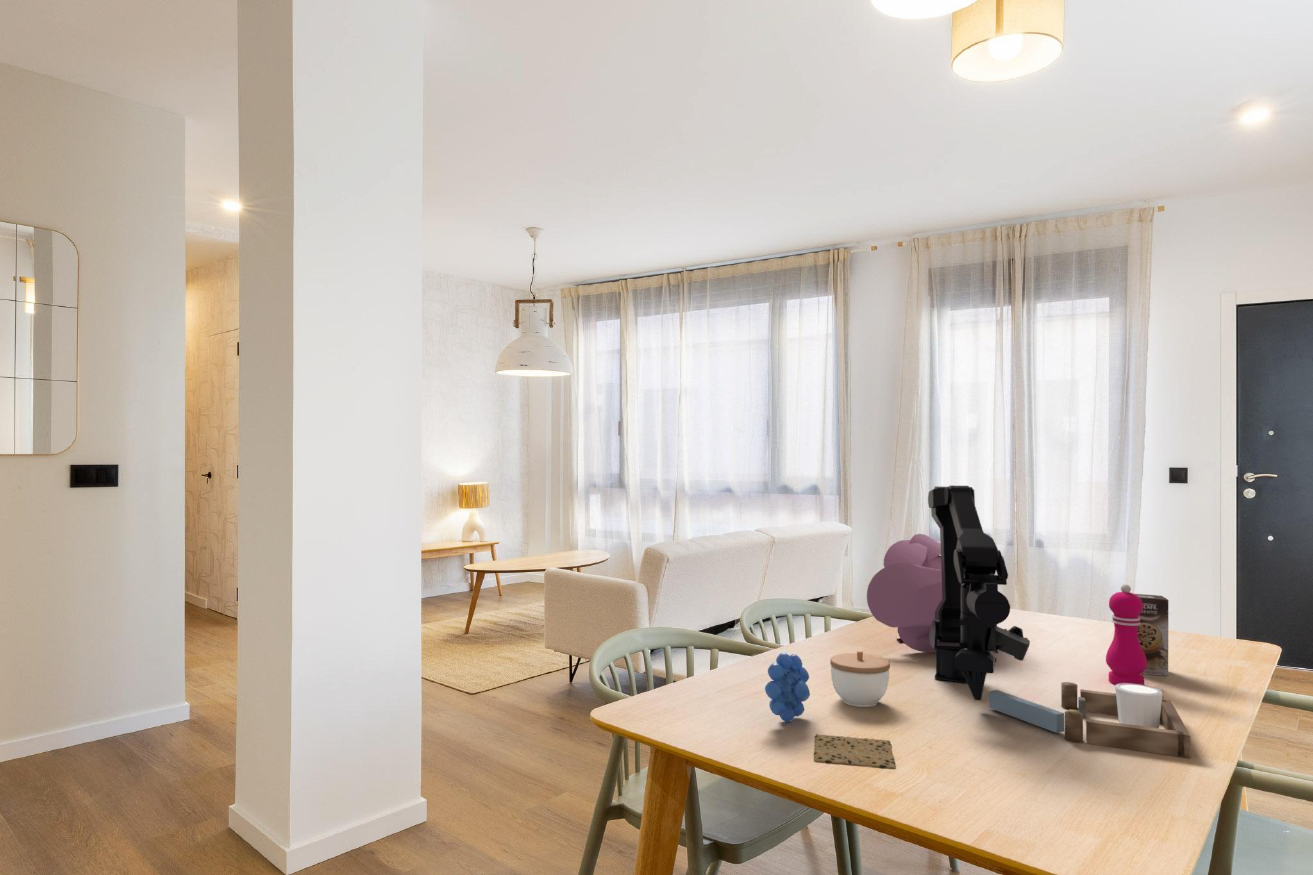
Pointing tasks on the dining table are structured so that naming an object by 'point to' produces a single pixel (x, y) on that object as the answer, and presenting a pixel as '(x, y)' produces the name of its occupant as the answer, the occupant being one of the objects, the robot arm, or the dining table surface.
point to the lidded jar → (860, 678)
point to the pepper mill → (1126, 639)
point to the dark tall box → (1154, 633)
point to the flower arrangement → (909, 590)
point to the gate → (1027, 711)
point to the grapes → (787, 686)
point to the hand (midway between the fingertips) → (977, 699)
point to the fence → (1118, 734)
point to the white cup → (1138, 704)
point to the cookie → (854, 751)
